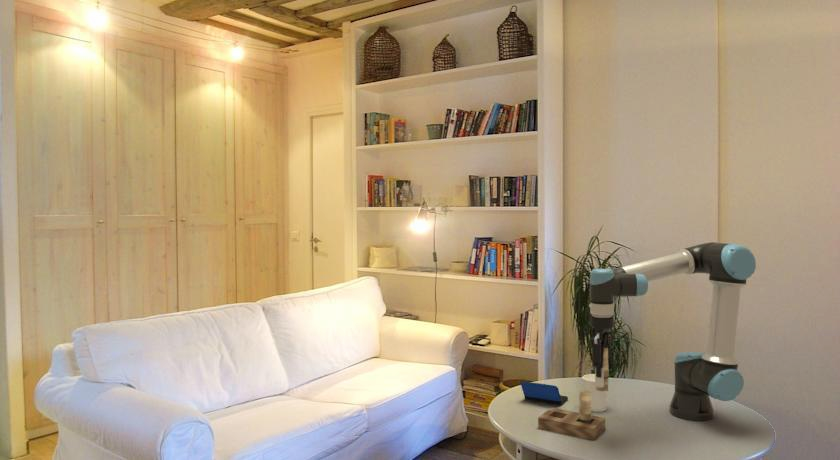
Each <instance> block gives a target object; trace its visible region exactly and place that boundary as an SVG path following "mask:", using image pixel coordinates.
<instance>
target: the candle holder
mask: <svg viewBox="0 0 840 460" xmlns="http://www.w3.org/2000/svg"><path fill="white" fill-rule="evenodd" d="M581 379H582V390H587V391H590V392H591V412H595V413H601V412H605V411H607V409H608V395H609V394H608V392H609V390H608V391H598V390H596V386H595V373H589V374H584V375H583V376H581ZM609 380H610V379H609V377H608V382H609Z"/></svg>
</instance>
